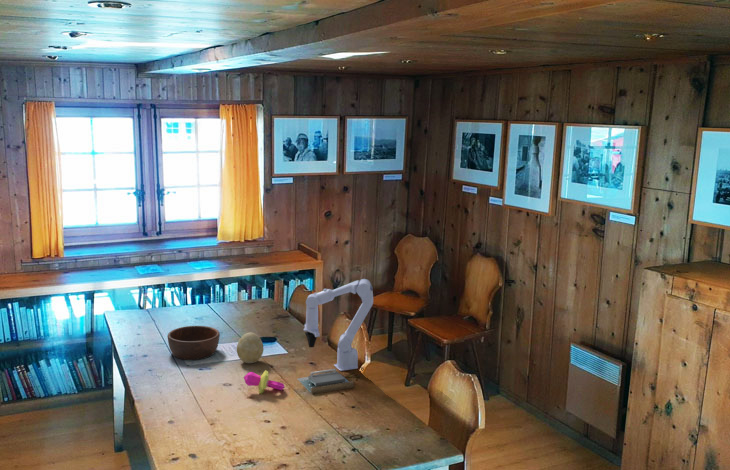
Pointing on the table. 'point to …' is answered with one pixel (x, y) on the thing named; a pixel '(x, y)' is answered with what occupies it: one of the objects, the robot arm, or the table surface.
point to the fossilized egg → (250, 348)
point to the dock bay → (324, 386)
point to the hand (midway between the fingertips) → (311, 346)
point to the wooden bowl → (193, 342)
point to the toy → (262, 381)
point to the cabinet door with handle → (326, 377)
